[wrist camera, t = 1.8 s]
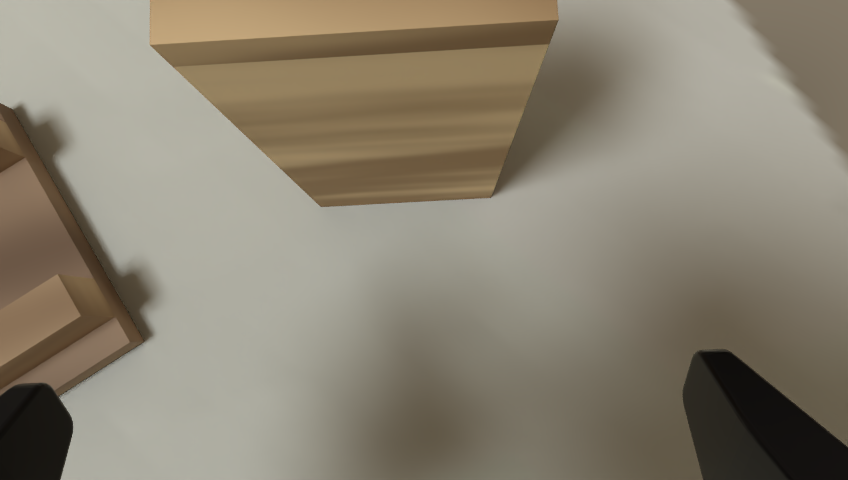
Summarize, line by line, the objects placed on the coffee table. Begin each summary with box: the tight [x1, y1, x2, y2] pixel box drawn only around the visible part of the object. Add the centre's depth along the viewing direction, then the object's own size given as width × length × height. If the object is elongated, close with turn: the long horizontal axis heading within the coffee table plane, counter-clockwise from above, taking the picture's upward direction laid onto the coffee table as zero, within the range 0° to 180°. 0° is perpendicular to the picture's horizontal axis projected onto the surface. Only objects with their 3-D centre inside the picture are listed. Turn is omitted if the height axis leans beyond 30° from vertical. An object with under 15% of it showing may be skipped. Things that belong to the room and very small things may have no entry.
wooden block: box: [150, 0, 558, 207], centre depth 16 cm, size 3×6×13 cm, turn 93°
